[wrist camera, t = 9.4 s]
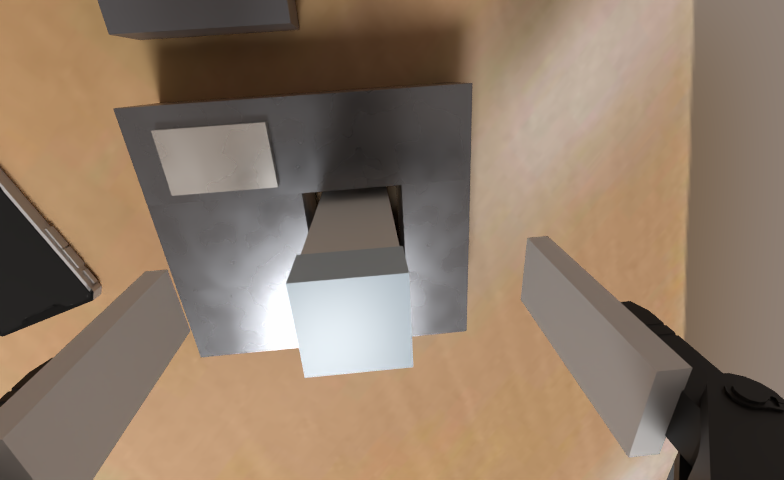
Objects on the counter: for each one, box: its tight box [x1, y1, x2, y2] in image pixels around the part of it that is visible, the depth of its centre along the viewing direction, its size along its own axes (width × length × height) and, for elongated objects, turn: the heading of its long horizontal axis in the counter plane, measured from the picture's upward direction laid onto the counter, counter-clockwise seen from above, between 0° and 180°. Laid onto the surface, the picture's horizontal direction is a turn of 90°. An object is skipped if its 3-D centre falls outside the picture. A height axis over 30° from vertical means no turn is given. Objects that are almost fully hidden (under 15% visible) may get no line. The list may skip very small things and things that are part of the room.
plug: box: [286, 186, 413, 378], centre depth 18 cm, size 4×4×12 cm
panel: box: [114, 82, 472, 357], centre depth 21 cm, size 14×16×4 cm
